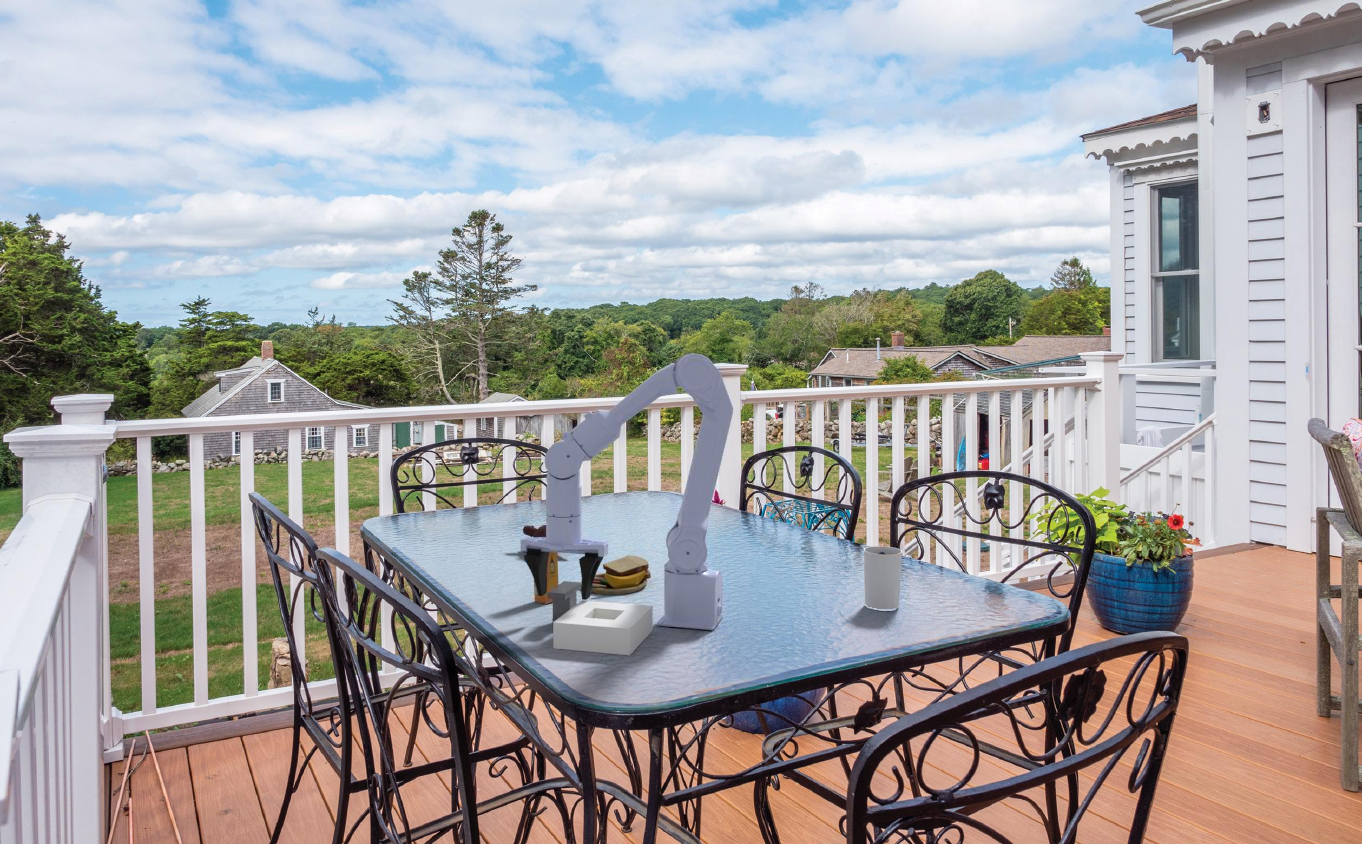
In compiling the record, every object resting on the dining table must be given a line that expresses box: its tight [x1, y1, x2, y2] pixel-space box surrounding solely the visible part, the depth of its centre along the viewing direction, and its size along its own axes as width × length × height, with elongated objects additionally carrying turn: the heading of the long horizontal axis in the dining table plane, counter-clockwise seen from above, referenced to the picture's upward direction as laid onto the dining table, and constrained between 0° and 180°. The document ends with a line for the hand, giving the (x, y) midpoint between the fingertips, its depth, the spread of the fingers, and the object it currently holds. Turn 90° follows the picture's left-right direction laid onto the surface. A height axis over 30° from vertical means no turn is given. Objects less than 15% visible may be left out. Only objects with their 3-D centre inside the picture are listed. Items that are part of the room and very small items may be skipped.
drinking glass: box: [863, 545, 903, 609], centre depth 156 cm, size 7×7×10 cm
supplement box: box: [533, 552, 560, 605], centre depth 159 cm, size 3×3×10 cm
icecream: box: [522, 524, 559, 554], centre depth 195 cm, size 7×8×15 cm
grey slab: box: [547, 581, 582, 623], centre depth 147 cm, size 3×7×6 cm, turn 165°
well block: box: [552, 599, 654, 656], centre depth 139 cm, size 12×12×4 cm
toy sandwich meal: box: [580, 554, 652, 595], centre depth 170 cm, size 12×14×5 cm
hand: (564, 596), depth 147 cm, fingers open, 7 cm apart
